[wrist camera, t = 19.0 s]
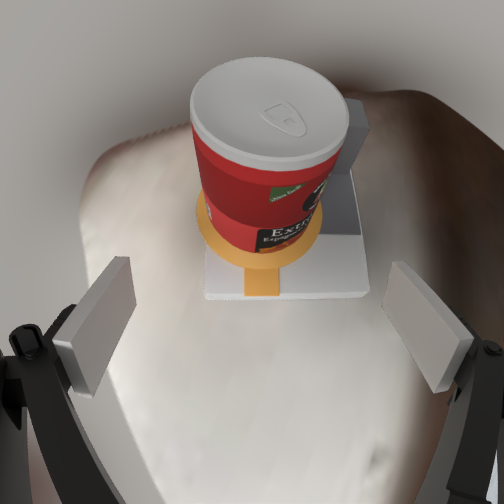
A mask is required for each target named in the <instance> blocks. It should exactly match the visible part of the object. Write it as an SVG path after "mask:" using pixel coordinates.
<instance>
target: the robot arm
mask: <svg viewBox="0 0 504 504" xmlns="http://www.w3.org/2000/svg"><path fill="white" fill-rule="evenodd" d="M136 305H137V304H136V298H135V292H134V286H133V280H132V273H131V266H130V259H129V257H117V256H115V257H114V259H113V260H112V261H111V262H110V263H109V265H108V266H107V267H106V268H105V270H104V271H103V272H102V273H101V275H100V276H99V277H98V278H97V280H96V281H95V282H94V283H93V285H92V286H91V287H90V289H89V290H88V291H87V293H86V294H85V295H84V297H83V298H82V299H81V300H80V302H79V303H78V304H77V305H75V304H71V305H70V306H68V307H67V308H65V309H64V310H63V311H62V312H61V313H60V314H59V316H58V317H57V319H56V320H55V321H54V322H53V325H51V326H50V328H49V329H48V330H47V332H46V333H45V334H44V336H43V335H42V332H41V330H40V328H39V327H38V326H37V325H35V324H26V325H22V326H19V327H18V328H16V329H15V330H13V331H12V333H11V334H10V335H9V342H10V344H11V347H12V349H13V351H14V353H15V355H16V356H3V353H2V351H1V350H0V504H33V503H32V495H31V487H30V478H29V465H28V448H27V447H28V446H27V407H28V411H29V414H30V418H31V421H32V425H33V428H34V431H35V435H36V438H37V441H38V444H39V447H40V450H41V453H42V455H43V458H44V461H45V464H46V466H47V469H48V471H49V474H50V477H51V479H52V481H53V484H54V486H55V488H56V491H57V493H58V495H59V497H60V500H61V502H62V504H126V503H125V501H124V499H123V498H122V496H121V495H120V493H119V491H118V490H117V488H116V487H115V485H114V483H113V482H112V480H111V478H110V477H109V475H108V473H107V472H106V470H105V468H104V467H103V465H102V463H101V461H100V459H99V458H98V456H97V454H96V452H95V450H94V448H93V446H92V444H91V442H90V440H89V438H88V436H87V434H86V432H85V430H84V428H83V426H82V424H81V422H80V419H79V417H78V415H77V413H76V411H75V408H74V406H73V404H72V401H71V399H70V397H69V395H68V393H67V392H68V390H69V388H70V386H72V388H73V390H74V392H75V394H76V395H78V396H82V397H88V398H93V397H94V395H95V392H96V390H97V388H98V386H99V383H100V381H101V378H102V376H103V374H104V372H105V370H106V368H107V365H108V363H109V361H110V359H111V357H112V355H113V352H114V350H115V348H116V346H117V344H118V342H119V340H120V337H121V335H122V333H123V331H124V329H125V327H126V325H127V323H128V321H129V319H130V317H131V315H132V313H133V311H134V309H135V307H136ZM382 308H383V310H384V311H385V313H386V314H387V316H388V318H389V319H390V321H391V322H392V324H393V326H394V327H395V329H396V330H397V332H398V334H399V335H400V337H401V338H402V340H403V342H404V343H405V345H406V347H407V348H408V350H409V352H410V353H411V355H412V357H413V358H414V360H415V362H416V363H417V365H418V367H419V369H420V370H421V372H422V374H423V376H424V377H425V379H426V381H427V383H428V384H429V386H430V388H431V390H432V391H433V393H438V392H442V391H447V390H448V389H449V387H450V385H451V384H452V382H453V380H454V381H455V382H456V384H457V385H458V386H457V387H456V389H455V391H454V393H453V394H452V396H451V398H450V399H449V401H448V403H447V404H448V405H449V404H450V402H451V405H450V408H449V412H448V415H447V419H446V422H445V425H444V428H443V431H442V434H441V437H440V440H439V443H438V446H437V449H436V452H435V454H434V457H433V460H432V462H431V465H430V468H429V470H428V472H427V475H426V477H425V480H424V482H423V484H422V487H421V489H420V491H419V493H418V496H417V498H416V500H415V502H414V504H492V503H491V502H490V501H487V500H486V495H487V491H488V487H489V483H490V479H491V474H492V470H493V465H494V460H495V455H496V449H497V464H498V504H504V351H503V349H502V348H501V347H500V346H499V345H498V344H497V343H495V342H493V341H489V340H484V341H482V340H481V338H480V337H479V336H478V335H477V334H476V332H475V331H474V330H473V329H472V328H471V327H470V325H468V323H467V322H466V321H465V320H464V319H463V317H462V316H461V315H460V314H459V313H458V312H457V311H456V310H454V309H453V308H451V307H450V306H446V304H445V303H444V302H443V301H442V300H441V299H440V298H439V297H438V296H437V294H436V293H435V292H434V291H433V290H432V289H431V288H430V287H429V286H428V285H427V284H426V283H425V282H424V280H423V279H422V278H421V277H420V276H419V275H418V274H417V273H416V272H415V271H414V270H413V269H412V268H411V267H410V266H409V265H408V264H407V263H406V262H405V261H392V265H391V270H390V274H389V279H388V283H387V287H386V291H385V295H384V299H383V303H382Z"/></svg>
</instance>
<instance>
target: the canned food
mask: <svg viewBox="0 0 504 504" xmlns="http://www.w3.org/2000/svg"><path fill="white" fill-rule="evenodd" d="M190 117H191V124H192V132H193V139H194V145H195V150H196V156H197V161H198V167H199V172H200V178H201V183H202V188H203V193H204V199H205V204H206V209H207V213H208V216H209V219H210V222H211V223H212V225H213V227H214V228H215V230H216V231H217V232H218V233H219V234H220V235H221V236H222V237H223V238H224V239H225V240H226V241H228V242H229V243H230V244H232V245H233V246H235V247H237V248H239V249H241V250H244V251H247V252H251V253H260V254H264V253H273V252H276V251H279V250H282V249H284V248H286V247H288V246H290V245H292V244H293V243H295V242H296V241H297V240H298V239H299V238H300V237H301V236H302V235H303V233H304V232H305V231H306V229H307V227H308V225H309V222H310V220H311V218H312V216H313V214H314V211H315V209H316V207H317V205H318V202H319V200H320V198H321V196H322V193H323V191H324V189H325V186H326V184H327V182H328V180H329V177H330V175H331V173H332V170H333V168H334V166H335V163H336V161H337V159H338V156H339V154H340V151H341V148H342V145H343V143H344V140H345V138H346V135H347V129H348V126H349V112H348V108H347V104H346V102H345V100H344V98H343V96H342V95H341V93H340V92H339V91H338V90H337V88H336V87H335V86H334V85H333V84H332V83H331V82H329V81H328V80H327V79H326V78H325V77H323V76H322V75H320V74H319V73H317V72H316V71H314V70H312V69H310V68H308V67H305V66H304V65H301V64H298V63H295V62H292V61H289V60H284V59H280V58H272V57H248V58H241V59H235V60H232V61H229V62H225V63H223V64H221V65H219V66H217V67H214V68H213V69H212V70H210V71H209V72H207V73H206V74H205V75H204V76H203V77H202V78H201V79H200V80H199V81H198V82H197V84H196V85H195V87H194V89H193V91H192V95H191V99H190Z"/></svg>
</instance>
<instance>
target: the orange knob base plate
mask: <svg viewBox="0 0 504 504" xmlns="http://www.w3.org/2000/svg"><path fill="white" fill-rule="evenodd" d="M344 100H345V102H346V104H347V108H348V112H349V126H348V129H347V135H346V138H345V140H344V143H343V145H342V148H341V151H340V154H339V156H338V159H337V161H336V163H335V166H334V168H333V170H332V173H331V175H330V177H329V180H328V182H327V184H326V186H325V189H324V191H323V193H322V196H321V198H320V200H319V202H318V205H317V207H316V209H315V211H314V214H313V216H312V218H311V220H310V222H309V225H308V227H307V229H306V231H305V232H304V233H303V235H302V236H301V237H300V238H299V239H298V240H297V241H296V242H295V243H293V244H292V245H290V246H288V247H286V248H284V249H282V250H279V251H276V252H273V253H264V254H260V253H251V252H247V251H244V250H241V249H239V248H237V247H235V246H233V245H232V244H230V243H229V242H228V241H226V240H225V239H224V238H223V237H222V236H221V235H220V234H219V233H218V232H217V231H216V230H215V228H214V227H213V225H212V223H211V222H210V219H209V216H208V213H207V209H206V204H205V199H204V193H203V188H202V190H201V192H200V195H199V198H198V202H197V221H198V226H199V229H200V232H201V234H202V236H203V238H204V240H205V241H206V247H205V271H204V295H205V297H206V299H207V300H295V299H335V298H361V297H362V296H364V295H365V294H367V293H368V292H370V286H369V277H368V269H367V262H366V254H365V247H364V240H363V234H362V227H361V221H360V215H359V210H358V204H357V198H356V193H355V188H354V183H353V178H352V173H351V167H352V165H353V163H354V160H355V158H356V156H357V154H358V152H359V150H360V148H361V146H362V144H363V142H364V140H365V138H366V136H367V133H368V131H369V129H370V126H369V123H368V120H367V117H366V114H365V111H364V108H363V105H362V102H361V100H356V99H348V98H344Z"/></svg>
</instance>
